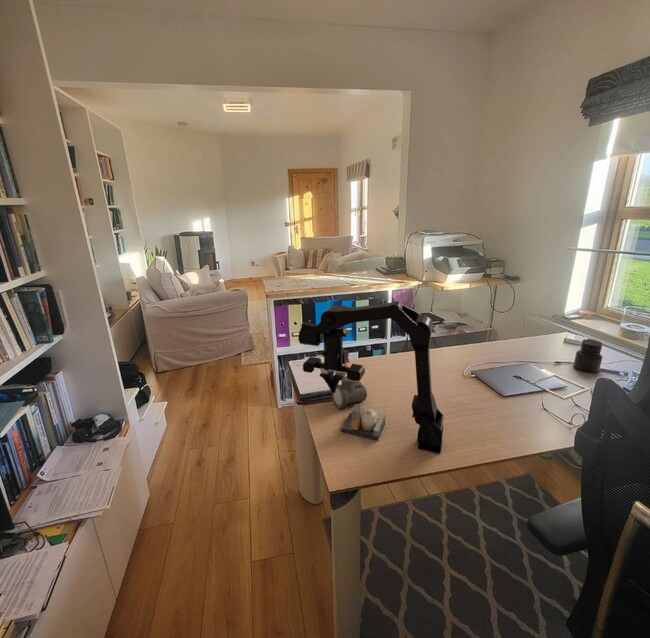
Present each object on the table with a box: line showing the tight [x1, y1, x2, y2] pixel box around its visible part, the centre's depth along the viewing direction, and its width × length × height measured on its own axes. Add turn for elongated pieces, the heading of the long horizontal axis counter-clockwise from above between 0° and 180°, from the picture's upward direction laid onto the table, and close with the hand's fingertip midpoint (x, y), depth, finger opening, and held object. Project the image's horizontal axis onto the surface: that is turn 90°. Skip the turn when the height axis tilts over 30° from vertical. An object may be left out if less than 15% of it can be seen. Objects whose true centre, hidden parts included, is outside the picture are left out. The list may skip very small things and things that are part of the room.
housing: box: [361, 408, 378, 430], centre depth 111 cm, size 5×5×5 cm
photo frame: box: [540, 368, 590, 400], centre depth 137 cm, size 15×1×18 cm
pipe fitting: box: [331, 375, 368, 409], centre depth 126 cm, size 12×8×10 cm
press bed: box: [340, 412, 386, 442], centre depth 113 cm, size 12×9×4 cm
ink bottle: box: [573, 338, 603, 374], centre depth 146 cm, size 10×9×12 cm
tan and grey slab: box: [351, 403, 366, 430], centre depth 112 cm, size 2×8×6 cm, turn 157°
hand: (333, 392), depth 112 cm, fingers closed
